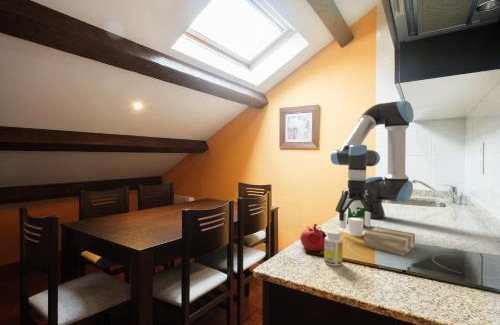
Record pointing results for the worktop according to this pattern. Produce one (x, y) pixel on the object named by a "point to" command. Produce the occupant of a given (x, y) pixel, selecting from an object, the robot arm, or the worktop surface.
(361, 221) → the white cup
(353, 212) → the milk carton
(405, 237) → the wooden base
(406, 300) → the worktop surface
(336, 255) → the supplement bottle
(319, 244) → the pomegranate
